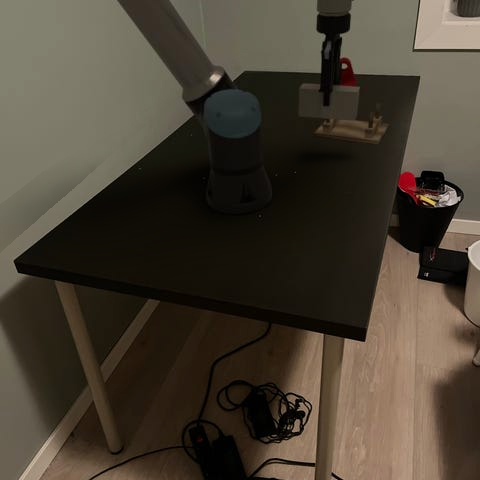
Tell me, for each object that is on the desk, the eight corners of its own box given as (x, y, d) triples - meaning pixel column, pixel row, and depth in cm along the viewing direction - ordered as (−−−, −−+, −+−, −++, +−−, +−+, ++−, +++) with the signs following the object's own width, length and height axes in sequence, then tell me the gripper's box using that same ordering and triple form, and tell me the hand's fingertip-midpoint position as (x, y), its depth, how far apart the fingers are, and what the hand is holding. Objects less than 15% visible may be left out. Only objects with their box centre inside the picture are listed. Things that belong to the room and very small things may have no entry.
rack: (377, 144, 129) (380, 117, 124) (314, 136, 136) (315, 110, 132) (388, 127, 137) (391, 102, 133) (328, 120, 145) (329, 96, 140)
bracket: (328, 92, 165) (329, 62, 159) (330, 86, 170) (331, 57, 164) (354, 92, 163) (356, 62, 157) (355, 86, 168) (357, 57, 162)
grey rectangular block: (354, 120, 116) (357, 92, 112) (298, 116, 120) (299, 88, 116) (357, 114, 119) (359, 86, 115) (302, 110, 123) (302, 83, 119)
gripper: (344, 21, 98) (336, 128, 112) (356, 5, 111) (348, 103, 125) (308, 20, 101) (305, 126, 114) (324, 5, 114) (320, 101, 127)
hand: (327, 114), depth 120 cm, fingers closed on grey rectangular block, 4 cm apart
